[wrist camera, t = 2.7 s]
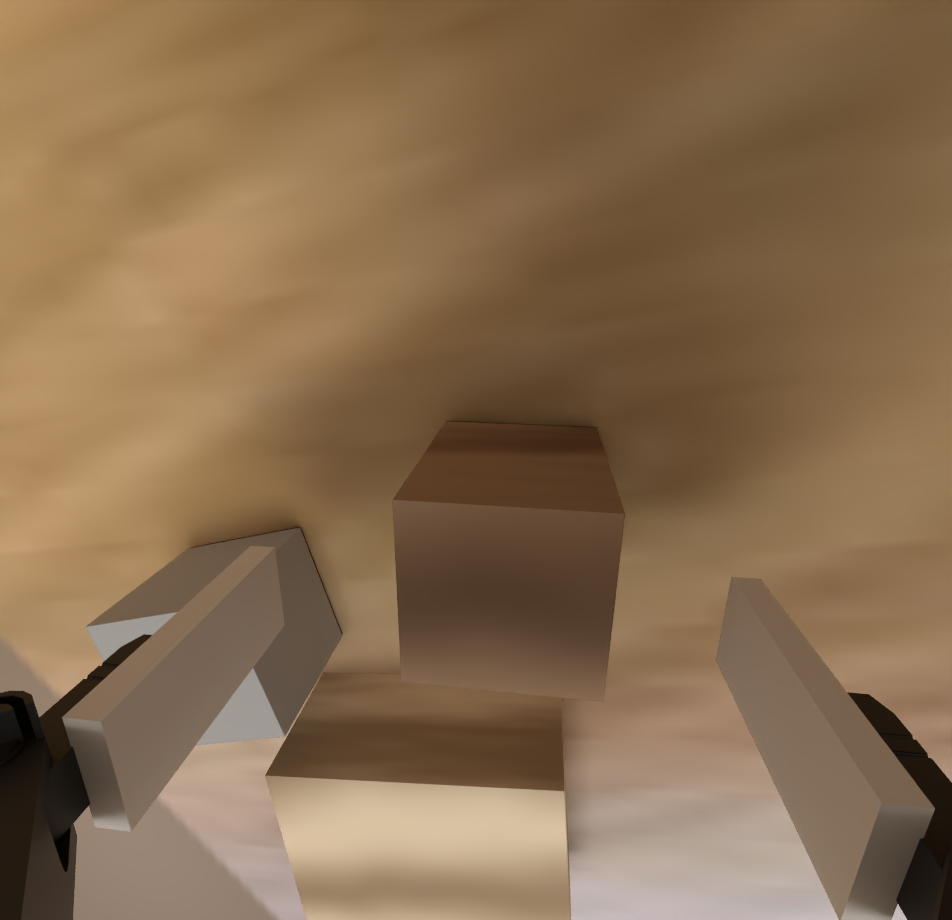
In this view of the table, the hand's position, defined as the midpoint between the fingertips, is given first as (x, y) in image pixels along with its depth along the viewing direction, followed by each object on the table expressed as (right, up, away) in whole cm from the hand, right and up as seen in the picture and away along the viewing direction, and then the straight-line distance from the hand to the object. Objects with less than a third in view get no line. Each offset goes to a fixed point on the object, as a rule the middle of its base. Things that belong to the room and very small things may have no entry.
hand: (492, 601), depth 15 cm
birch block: (-2, -12, +13) cm, 18 cm away
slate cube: (-11, -2, +10) cm, 15 cm away
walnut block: (+1, +3, +7) cm, 7 cm away
